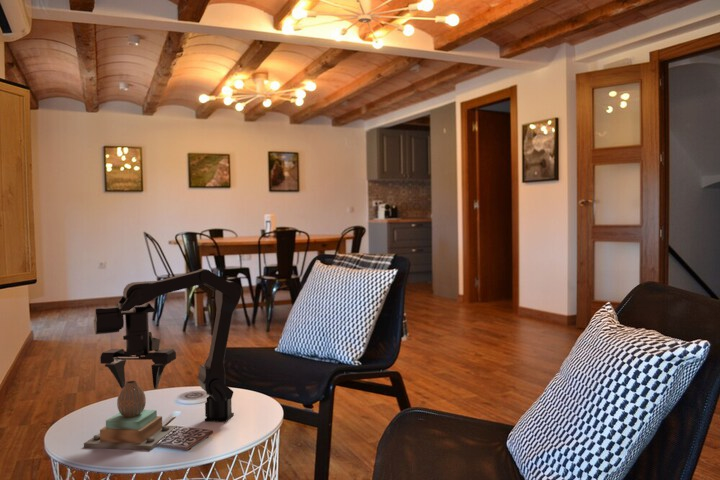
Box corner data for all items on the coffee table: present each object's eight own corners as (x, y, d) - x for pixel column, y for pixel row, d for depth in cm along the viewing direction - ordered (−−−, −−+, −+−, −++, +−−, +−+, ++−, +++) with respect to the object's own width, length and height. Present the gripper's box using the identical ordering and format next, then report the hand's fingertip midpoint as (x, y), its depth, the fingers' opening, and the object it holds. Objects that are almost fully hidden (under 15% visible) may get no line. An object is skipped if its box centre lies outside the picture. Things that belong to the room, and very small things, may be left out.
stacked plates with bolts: (177, 429, 152) (176, 407, 152) (151, 449, 138) (150, 425, 138) (115, 427, 154) (114, 405, 154) (83, 447, 140) (83, 423, 140)
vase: (150, 410, 149) (149, 378, 149) (138, 419, 142) (137, 385, 142) (125, 410, 150) (124, 378, 150) (112, 419, 143) (111, 385, 143)
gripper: (183, 324, 156) (185, 380, 156) (120, 324, 158) (122, 379, 158) (165, 332, 145) (167, 392, 145) (97, 332, 147) (99, 391, 147)
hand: (139, 388), depth 149 cm, fingers open, 9 cm apart
